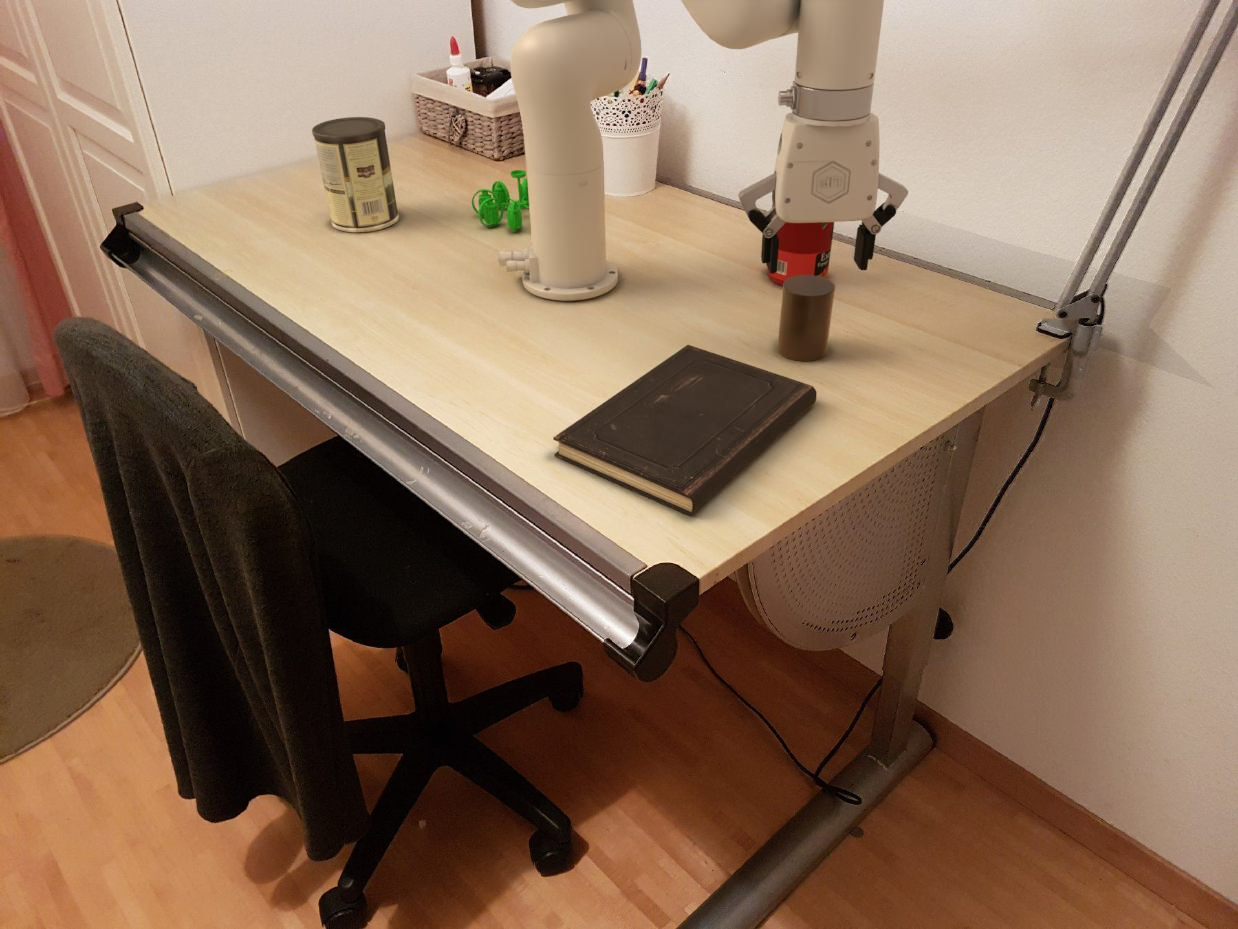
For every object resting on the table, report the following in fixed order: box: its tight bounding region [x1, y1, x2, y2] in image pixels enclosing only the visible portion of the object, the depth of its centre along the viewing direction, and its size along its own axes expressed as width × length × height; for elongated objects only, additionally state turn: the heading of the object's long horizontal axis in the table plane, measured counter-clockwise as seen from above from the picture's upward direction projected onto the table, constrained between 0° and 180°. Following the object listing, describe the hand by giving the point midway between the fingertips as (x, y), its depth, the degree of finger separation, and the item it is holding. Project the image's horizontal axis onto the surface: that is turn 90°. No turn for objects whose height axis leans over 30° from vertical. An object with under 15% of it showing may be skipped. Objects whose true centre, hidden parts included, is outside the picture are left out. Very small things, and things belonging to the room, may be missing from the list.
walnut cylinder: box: [776, 275, 836, 362], centre depth 103 cm, size 6×6×8 cm
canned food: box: [766, 204, 835, 287], centre depth 119 cm, size 8×8×11 cm
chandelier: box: [471, 169, 529, 233], centre depth 139 cm, size 15×15×7 cm
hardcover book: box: [552, 344, 817, 516], centre depth 91 cm, size 16×23×2 cm
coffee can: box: [311, 116, 400, 233], centre depth 137 cm, size 10×10×14 cm
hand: (815, 267), depth 99 cm, fingers open, 9 cm apart
